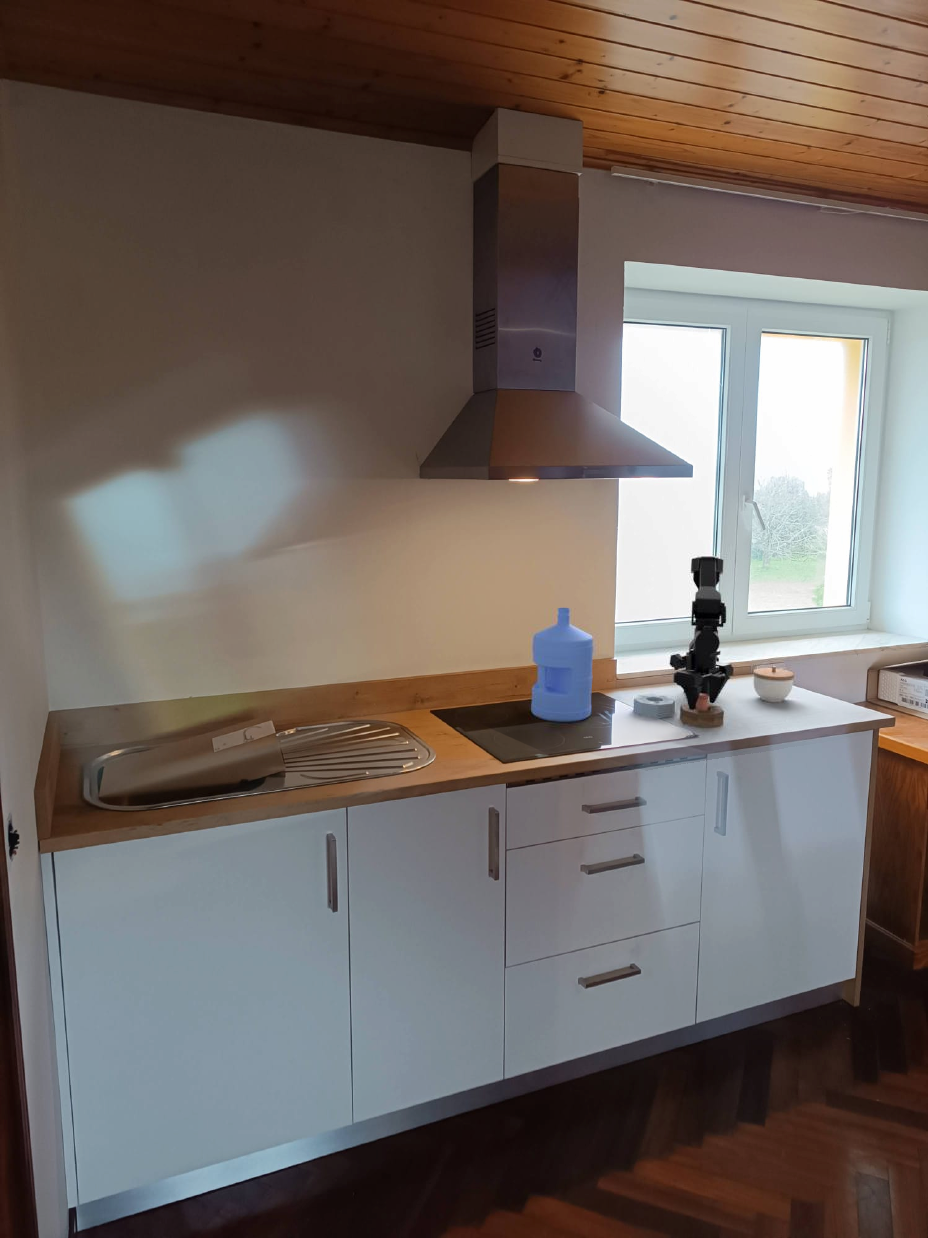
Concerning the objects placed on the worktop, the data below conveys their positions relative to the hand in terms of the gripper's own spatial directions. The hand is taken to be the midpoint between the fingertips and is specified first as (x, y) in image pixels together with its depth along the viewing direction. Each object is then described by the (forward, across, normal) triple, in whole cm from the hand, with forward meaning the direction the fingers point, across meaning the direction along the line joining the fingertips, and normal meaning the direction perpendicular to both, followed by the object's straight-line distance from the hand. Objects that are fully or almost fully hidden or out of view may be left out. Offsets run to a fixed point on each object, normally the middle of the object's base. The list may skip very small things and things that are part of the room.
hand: (701, 706), depth 217 cm
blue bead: (+4, +2, -13) cm, 14 cm away
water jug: (+4, +22, -28) cm, 36 cm away
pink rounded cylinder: (+4, 0, 0) cm, 4 cm away
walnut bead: (+4, 0, 0) cm, 4 cm away
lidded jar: (+4, -34, +1) cm, 34 cm away
